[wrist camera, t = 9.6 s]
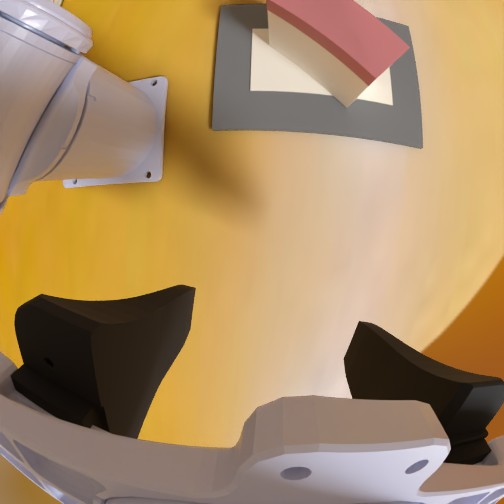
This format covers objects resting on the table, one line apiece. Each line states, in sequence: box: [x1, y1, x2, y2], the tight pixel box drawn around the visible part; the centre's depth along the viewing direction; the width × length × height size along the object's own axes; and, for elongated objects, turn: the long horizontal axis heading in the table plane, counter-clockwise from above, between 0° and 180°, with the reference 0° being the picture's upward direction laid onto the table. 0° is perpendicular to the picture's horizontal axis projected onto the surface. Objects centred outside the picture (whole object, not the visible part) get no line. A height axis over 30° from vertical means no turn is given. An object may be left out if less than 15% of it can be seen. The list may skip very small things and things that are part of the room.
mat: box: [212, 4, 423, 149], centre depth 16 cm, size 15×11×1 cm
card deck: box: [266, 0, 410, 108], centre depth 12 cm, size 3×7×6 cm, turn 47°
